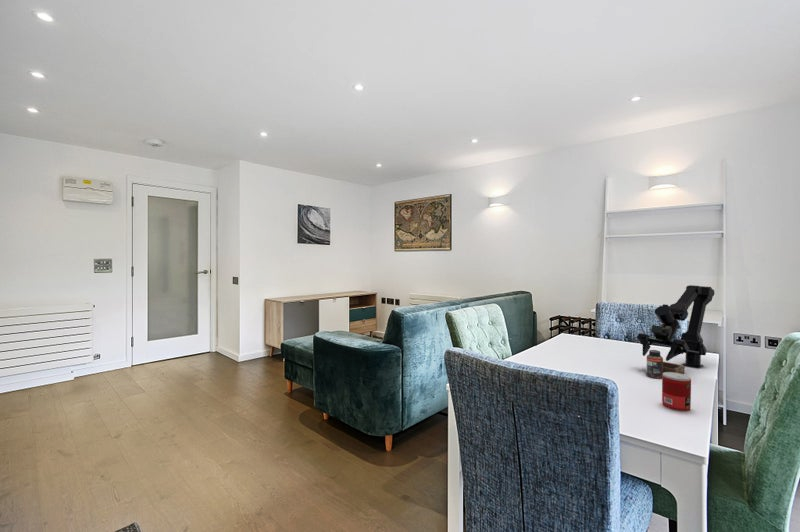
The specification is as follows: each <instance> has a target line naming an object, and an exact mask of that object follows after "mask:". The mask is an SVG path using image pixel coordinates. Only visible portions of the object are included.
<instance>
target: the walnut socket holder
mask: <svg viewBox="0 0 800 532" xmlns="http://www.w3.org/2000/svg"><path fill="white" fill-rule="evenodd" d="M685 371H686V370H685V365H683V364H682V365H681V364H678V363H671V362H669V361H663V373H665V372H674V373H680V374H684V375H686V374H685V373H686V372H685Z"/></svg>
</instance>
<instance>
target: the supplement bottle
mask: <svg viewBox="0 0 800 532" xmlns="http://www.w3.org/2000/svg"><path fill="white" fill-rule="evenodd" d="M648 353H649V354H646V376H647V377H649V378H653V379H662V375H663V362H664V358H663V356H661V351H659V350H656V349H649V350H648Z"/></svg>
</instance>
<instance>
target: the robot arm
mask: <svg viewBox="0 0 800 532" xmlns="http://www.w3.org/2000/svg"><path fill="white" fill-rule="evenodd" d="M714 296H715V290H714V289H713V288H712V286H703V285H692V284H689V285H687V286H686V287H685V290H684V292H683V293H682V295H681V296H680V297H679V298H678V299H677V301H676V302H674V303H672V304H670V305H669V304H666V303H665V304H664V303H663V304H662V305H661V306H658V307H657V308H655V309H654V314H655V316H656V317H657V319H658V321H659V322H660V323H662V324H661V325H656V324H655V325H654V324H653V325H651V328H650V332H651V333H653V337H651V336H650V335H649V334H648V333H642V332H640V333H638V334H637V336H636V339H637V340H638V342H639V343H640V344H641V345H642V356H644V357H645V356H647V354H648V353H649V350H651V345H652V343H653V344H658V345H662V346H666V347H667V346H668V347H670V349H669V351H668V353H667V355H666V356H665V357H666V358H665V362H669V361H670V360H671V359H674V358H675V357H676V356H679V355H683V354H685V360H684V362H683V363H682V365H683V366H687V367H691V368H696V369H700V368H702V367H704V364H701V362H702V361H701V360H702V359H701V358H702V356H706V355H707V349H706V347H705V345H704V343H703V342H704V340H703V337H702V335H701V330H702V327H703V322H704V318H705V311H706V309H707V305H709V304H710V303H711V302H712V300H713V298H714ZM691 305H692V309H691V312H690V313H691V314H690V317H689V318H690V319H689V323H688V327H687V330H686V331H685V332H682V333H681V336H680V339H678V338H676V335H675V334H676V333H677V330H680V329H681V325H680V323H679V321H682V322H683V321H685V320H686V319H687V318H688V316H689V311H688V310H689V308H690V306H691Z"/></svg>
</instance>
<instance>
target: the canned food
mask: <svg viewBox="0 0 800 532" xmlns="http://www.w3.org/2000/svg"><path fill="white" fill-rule="evenodd" d="M661 380H662V381H661V382H662V383H661V392H662V393H661V402H662V405H663V406H664V407H666V408H668V409H670V410H673V411H681V412H687V411H689V410H690V409H691V404H692V378H691V376H689V375H687V374H680V373H674V372H665V373H663V375H662V378H661Z"/></svg>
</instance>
